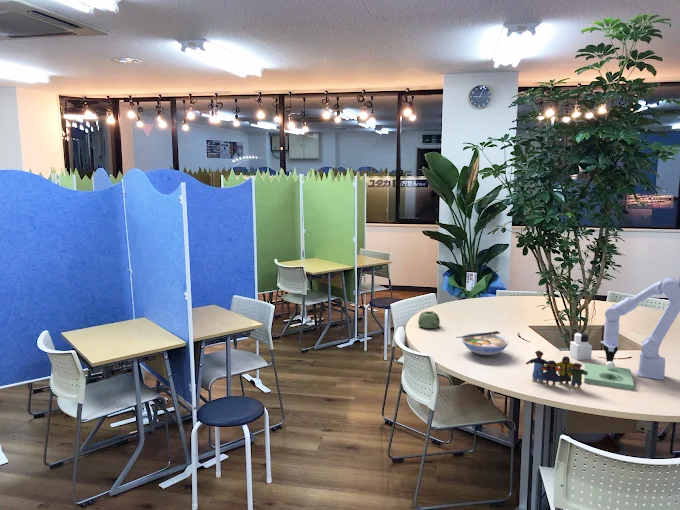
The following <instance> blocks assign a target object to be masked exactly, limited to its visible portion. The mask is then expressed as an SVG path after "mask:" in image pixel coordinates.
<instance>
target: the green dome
mask: <svg viewBox="0 0 680 510" xmlns="http://www.w3.org/2000/svg"><path fill="white" fill-rule="evenodd" d="M440 320H441V319H440V316H439V314H438V313H436V312H435V311H433V310H431V311H429V310H428V311H423V312H421V313H420V315H419V316H418V320H417V321H418V322H417V323H418V326H419V327H420V328H422V327H423V329H426V328H434V329H437V328H438V327H440V324H441V321H440Z"/></svg>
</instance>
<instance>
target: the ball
mask: <svg viewBox="0 0 680 510" xmlns="http://www.w3.org/2000/svg"><path fill="white" fill-rule="evenodd" d="M605 366H606V367H607V368H608V369H614V367H616V365H615V363H614V361H613V362H612V361H608V362H607V361H606V362H605Z"/></svg>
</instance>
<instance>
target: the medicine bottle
mask: <svg viewBox="0 0 680 510" xmlns="http://www.w3.org/2000/svg"><path fill="white" fill-rule="evenodd" d="M573 339H574V340H573V341H572V340H571V341H569V342H570V343H569V344H570V345H569V356H570V357H572V358H574V359H575V360H576V361H584V360H585V361H590V360H592V352H593V345H592V344H590V343H589V335H588V334H587V333H585V332H576V333H574V338H573Z"/></svg>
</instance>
